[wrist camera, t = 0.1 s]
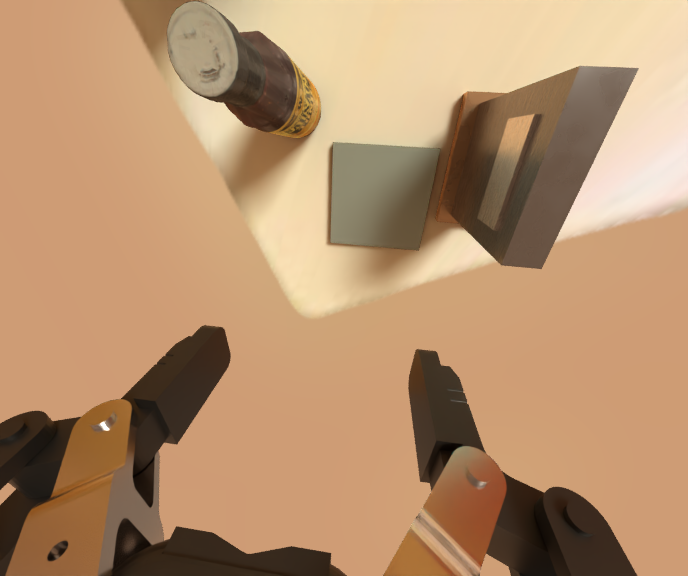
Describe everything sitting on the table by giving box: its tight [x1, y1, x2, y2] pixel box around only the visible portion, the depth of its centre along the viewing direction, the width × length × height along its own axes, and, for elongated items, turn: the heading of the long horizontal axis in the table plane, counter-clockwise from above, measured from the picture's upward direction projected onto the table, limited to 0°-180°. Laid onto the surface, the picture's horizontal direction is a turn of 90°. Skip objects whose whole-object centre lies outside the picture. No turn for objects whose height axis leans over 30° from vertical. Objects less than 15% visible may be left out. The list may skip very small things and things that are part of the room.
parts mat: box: [330, 142, 440, 250], centre depth 35 cm, size 13×13×1 cm
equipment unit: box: [435, 66, 639, 269], centre depth 24 cm, size 14×6×18 cm, turn 177°
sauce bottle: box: [167, 1, 321, 138], centre depth 23 cm, size 6×6×20 cm
